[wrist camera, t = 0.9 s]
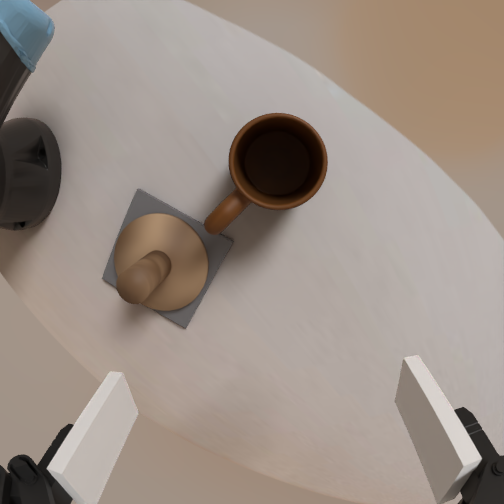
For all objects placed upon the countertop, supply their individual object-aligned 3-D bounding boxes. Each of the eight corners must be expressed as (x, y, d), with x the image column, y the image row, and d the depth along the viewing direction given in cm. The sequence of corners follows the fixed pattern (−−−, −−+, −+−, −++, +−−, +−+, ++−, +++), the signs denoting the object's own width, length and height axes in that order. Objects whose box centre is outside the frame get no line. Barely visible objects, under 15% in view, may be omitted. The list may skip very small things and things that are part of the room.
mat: (104, 276, 36) (102, 278, 36) (139, 188, 33) (137, 189, 33) (187, 326, 37) (185, 328, 36) (233, 241, 34) (232, 242, 33)
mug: (246, 243, 34) (236, 271, 25) (196, 193, 33) (167, 203, 24) (329, 165, 31) (350, 163, 22) (277, 112, 30) (277, 90, 21)
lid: (106, 277, 36) (71, 302, 28) (139, 195, 33) (103, 204, 25) (183, 323, 36) (163, 360, 29) (226, 244, 33) (212, 267, 26)
